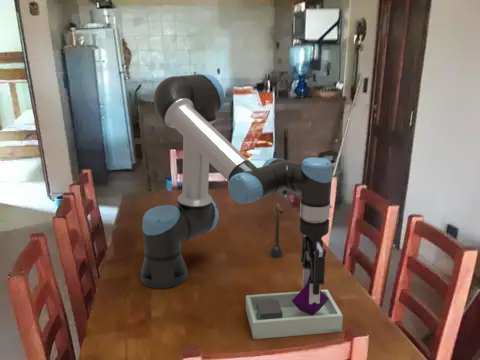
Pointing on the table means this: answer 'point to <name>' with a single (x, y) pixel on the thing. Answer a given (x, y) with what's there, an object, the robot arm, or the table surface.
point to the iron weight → (268, 310)
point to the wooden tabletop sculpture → (277, 234)
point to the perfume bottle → (303, 297)
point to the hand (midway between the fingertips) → (310, 296)
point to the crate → (292, 317)
